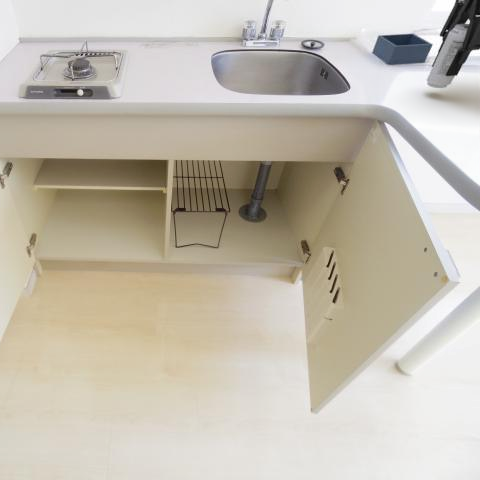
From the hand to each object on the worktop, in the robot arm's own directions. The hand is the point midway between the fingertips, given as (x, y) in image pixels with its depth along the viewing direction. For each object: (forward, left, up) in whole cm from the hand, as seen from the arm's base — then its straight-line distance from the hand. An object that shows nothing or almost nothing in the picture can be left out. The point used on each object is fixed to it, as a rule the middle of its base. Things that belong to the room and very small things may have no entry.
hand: (444, 70), depth 98 cm
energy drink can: (0, 0, -4) cm, 4 cm away
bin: (+32, -6, -7) cm, 33 cm away
